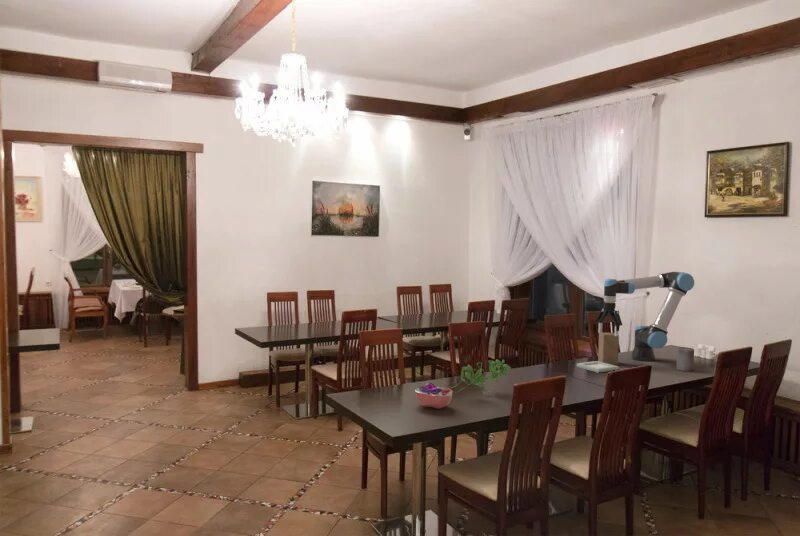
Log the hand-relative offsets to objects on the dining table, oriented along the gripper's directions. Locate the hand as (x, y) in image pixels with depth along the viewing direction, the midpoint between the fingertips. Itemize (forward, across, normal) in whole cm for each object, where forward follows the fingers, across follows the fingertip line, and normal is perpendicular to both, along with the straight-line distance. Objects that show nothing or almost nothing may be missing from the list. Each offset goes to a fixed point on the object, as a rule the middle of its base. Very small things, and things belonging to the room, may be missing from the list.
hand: (608, 334), depth 388 cm
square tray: (+20, +8, -17) cm, 28 cm away
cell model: (+22, +36, -156) cm, 162 cm away
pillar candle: (+19, +35, +31) cm, 51 cm away
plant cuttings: (+21, +26, -122) cm, 127 cm away
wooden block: (+20, 0, +1) cm, 20 cm away
